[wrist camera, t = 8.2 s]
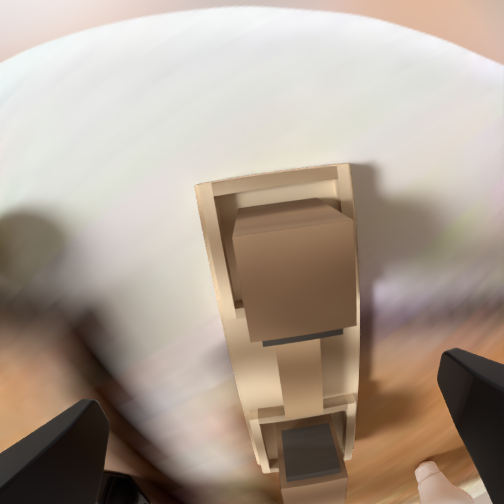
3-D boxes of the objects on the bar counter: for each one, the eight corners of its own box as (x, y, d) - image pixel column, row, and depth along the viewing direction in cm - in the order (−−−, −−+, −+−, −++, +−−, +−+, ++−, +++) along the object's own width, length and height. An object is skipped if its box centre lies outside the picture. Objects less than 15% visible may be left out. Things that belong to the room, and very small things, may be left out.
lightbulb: (454, 449, 25) (491, 517, 14) (416, 480, 26) (443, 548, 16) (429, 442, 24) (469, 521, 13) (386, 475, 25) (413, 554, 15)
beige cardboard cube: (238, 208, 16) (232, 237, 10) (316, 197, 16) (353, 220, 10) (252, 291, 17) (252, 355, 12) (324, 281, 17) (356, 338, 11)
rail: (350, 439, 23) (370, 505, 16) (257, 454, 23) (259, 523, 16) (343, 162, 17) (401, 167, 10) (197, 183, 17) (162, 201, 10)
